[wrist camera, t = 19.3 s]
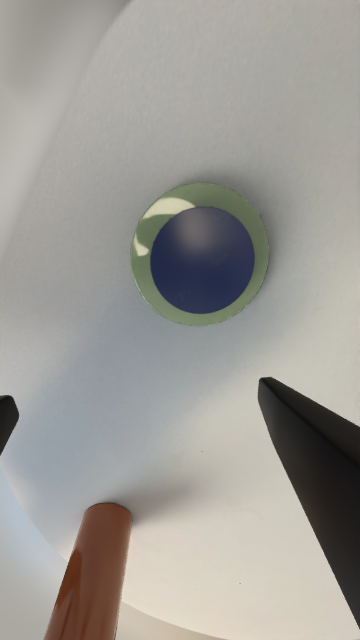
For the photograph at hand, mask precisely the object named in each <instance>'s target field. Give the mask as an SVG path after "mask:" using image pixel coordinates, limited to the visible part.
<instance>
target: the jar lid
mask: <svg viewBox="0 0 360 640" xmlns="http://www.w3.org/2000/svg"><path fill="white" fill-rule="evenodd" d="M159 230H160V231H159V233H158V234H157V236H156V238H155V241H153V246H152V250H151V255H150V271H151V274H152V278H153V281H154V284H155V286H156V288H157V290H158V291H159V293H160V294H161V295H162V297H163V298H164V299H165V300H166V301H167V302H169V303H170V304H171V305H173V306H174V307H176V308H178V309H180V310H182V311H185V312H188V313H193V314H208V313H213V312H216V311H219V310H222V309H224V308H226V307H227V306H229V305H231V304H232V303H233V302H235V301H236V300H237V299H238V298H239V297H240V296H241V295H242V293H243V292H244V291H245V289H246V287H247V286H248V284H249V282H250V280H251V277H252V274H253V270H254V264H255V253H254V247H253V243H252V240H251V237H250V235H249V233H248V231H247V230H246V228H245V227H244V225H243V224H242V223H241V222H240V221H239V220H238V219H237V218H236V217H234V216H233V215H232V214H230V213H228V212H227V211H224V210H222V209H219V208H214V207H213V206H211V207H206V206H203V207H198V206H196V207H194V208H190V209H187V210H182V212H180V213H178V214H176V215H175V216H174V217H172V218H169V221H168V222H167V223H166V224H165V225H164V226H163V227H162V228H161V229H159Z"/></svg>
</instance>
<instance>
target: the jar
mask: <svg viewBox="0 0 360 640" xmlns="http://www.w3.org/2000/svg"><path fill="white" fill-rule="evenodd" d="M132 521H133V518H132V515H131V513H130V512H129V511H128V510H127V509H126V508H124V507H122V506H120V505H117V504H111V503H102V504H97V505H94V506H92V507H90V508H89V509H87V511H86V512H85V514H84V517H83V520H82V523H81V526H80V529H79V532H78V535H77V538H76V541H75V544H74V547H73V550H72V553H71V557H70V560H69V563H68V566H67V569H66V572H65V575H64V578H63V581H62V585H61V587H60V590H59V594H58V597H57V600H56V603H55V606H54V609H53V612H52V615H51V618H50V621H49V625H48V628H47V631H46V634H45V637H44V640H115V637H116V630H117V622H118V616H119V610H120V603H121V596H122V589H123V582H124V576H125V569H126V562H127V555H128V549H129V542H130V535H131V528H132Z"/></svg>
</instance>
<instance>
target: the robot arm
mask: <svg viewBox="0 0 360 640" xmlns="http://www.w3.org/2000/svg"><path fill="white" fill-rule="evenodd" d="M258 402H259V405H260V408H261V411H262V414H263V417H264V420H265V422H266V425H267V428H268V431H269V434H270V437H271V440H272V442H273V445H274V447H275V449H276V451H277V454H278V456H279V458H280V460H281V462H282V464H283V466H284V469H285V471H286V473H287V475H288V477H289V479H290V481H291V484H292V486H293V488H294V490H295V492H296V494H297V496H298V498H299V501H300V503H301V505H302V507H303V509H304V511H305V513H306V516H307V518H308V520H309V522H310V524H311V526H312V528H313V531H314V533H315V535H316V537H317V539H318V541H319V543H320V545H321V548H322V550H323V552H324V554H325V556H326V558H327V560H328V563H329V565H330V567H331V569H332V571H333V573H334V575H335V578H336V580H337V582H338V584H339V586H340V588H341V590H342V593H343V595H344V597H345V599H346V601H347V603H348V605H349V607H350V610H351V612H352V614H353V616H354V618H355V620H356V622H357V625H358V627H359V629H360V427H359V426H357V425H355V424H354V423H352V422H350V421H348V420H346V419H345V418H343V417H341V416H339V415H338V414H336V413H334V412H332V411H331V410H329V409H327V408H325V407H324V406H322V405H320V404H318V403H316V402H315V401H313V400H311V399H309V398H308V397H306V396H304V395H302V394H301V393H299V392H297V391H295V390H293V389H292V388H290V387H288V386H286V385H285V384H283V383H281V382H279V381H278V380H276V379H274V378H272V377H264V378H260V380H259V387H258ZM18 419H19V412H18V409H17V406H16V404H15V401H14V399H13V397H12V396H10V395H4V396H0V455H1V453H2V451H3V449H4V447H5V445H6V443H7V441H8V439H9V437H10V435H11V433H12V431H13V429H14V427H15V425H16V423H17V421H18Z"/></svg>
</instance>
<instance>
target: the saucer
mask: <svg viewBox="0 0 360 640" xmlns="http://www.w3.org/2000/svg"><path fill="white" fill-rule="evenodd" d="M196 206H198V207H203V206H206V207H211V206H213V207H214V208H219V209H222V210H224V211H227V212H228V213H230V214H232V215H233V216H234V217H236V218H237V219H238V220H239V221H240V222H241V223H242V224H243V225H244V227H245V228H246V230H247V231H248V233H249V235H250V237H251V240H252V243H253V247H254V253H255V264H254V270H253V274H252V277H251V280H250V282H249V284H248V286H247V287H246V289H245V291H244V292H243V293H242V295H241V296H240V297H239V298H238V299H237V300H236V301H235V302H233V303H232V304H231V305H229V306H227V307H226V308H224V309H222V310H219V311H216V312H213V313H208V314H193V313H188V312H185V311H182V310H180V309H178V308H176V307H174V306H173V305H171V304H170V303H169V302H167V301H166V300H165V299H164V298H163V297H162V295H161V294H160V293H159V291H158V290H157V288H156V286H155V284H154V281H153V278H152V274H151V271H150V255H151V250H152V246H153V241H155V238H156V236H157V234H158V233H159V231H160V230H159V229H161V228H162V227H163V226H164V225H165V224H166V223H167V222H168V221H169V218H172V217H174V216H175V215H176V214H178V213H180V212H182V210H187V209H190V208H194V207H196ZM268 259H269V244H268V238H267V233H266V230H265V227H264V224H263V222H262V220H261V218H260V216H259V215H258V213H257V212H256V210H255V209H254V207H253V206H252V205H251V204H250V203H249V202H248V201H247V200H246V199H245V198H243V197H242V196H241V195H240V194H238V193H236V192H235V191H233V190H231V189H229V188H226V187H224V186H221V185H217V184H212V183H192V184H187V185H183V186H180V187H177V188H175V189H173V190H171V191H169V192H167V193H165V194H164V195H162V196H161V197H160V198H158V199H157V200H156V201H155V202H154V203H153V204H152V205H151V206H150V207H149V208H148V209H147V211H146V212H145V213H144V215H143V216H142V218H141V220H140V221H139V223H138V225H137V228H136V230H135V233H134V236H133V240H132V246H131V268H132V273H133V277H134V280H135V283H136V285H137V288H138V290H139V291H140V293H141V295H142V296H143V298H144V299H145V301H146V302H147V303H148V304H149V305H150V306H151V307H152V308H153V309H154V310H155V311H156V312H158V313H159V314H160V315H162V316H164V317H165V318H167V319H169V320H171V321H174V322H177V323H180V324H184V325H190V326H205V325H211V324H215V323H219V322H222V321H224V320H226V319H228V318H230V317H232V316H234V315H235V314H237V313H238V312H239V311H241V310H242V309H243V308H244V307H245V306H246V305H247V304H248V303H249V302H250V301H251V300H252V299H253V298H254V296H255V295H256V293H257V292H258V290H259V289H260V286H261V284H262V282H263V280H264V277H265V274H266V271H267V266H268Z"/></svg>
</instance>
